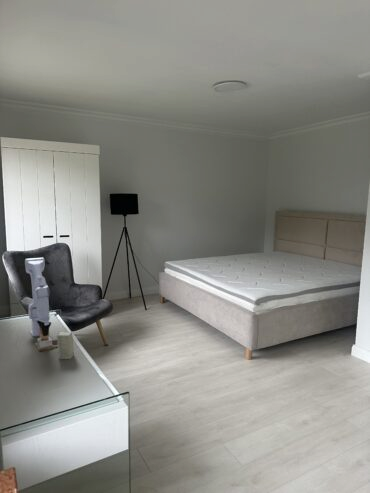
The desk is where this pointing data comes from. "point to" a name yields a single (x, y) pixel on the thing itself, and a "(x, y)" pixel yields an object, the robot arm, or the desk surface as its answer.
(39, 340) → the plate
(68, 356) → the skincare box
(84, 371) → the desk surface
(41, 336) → the terracotta block
